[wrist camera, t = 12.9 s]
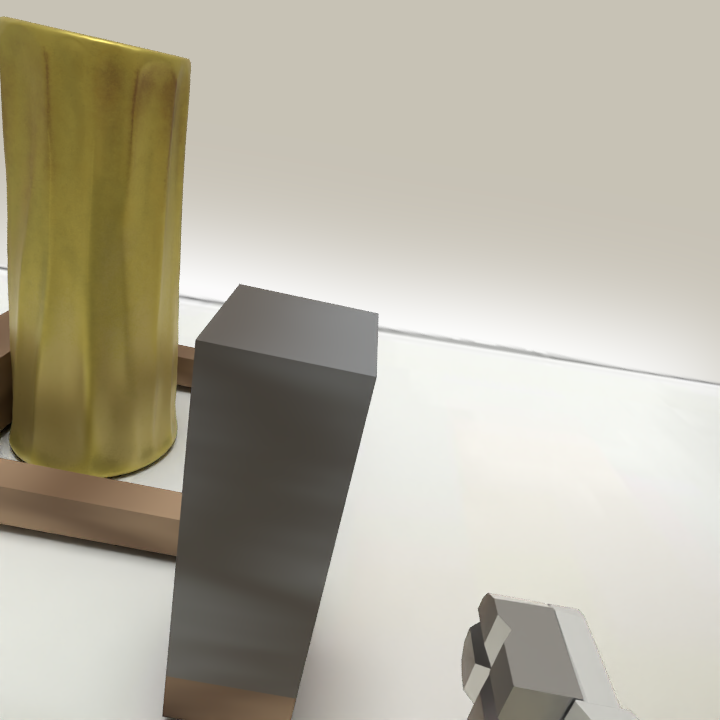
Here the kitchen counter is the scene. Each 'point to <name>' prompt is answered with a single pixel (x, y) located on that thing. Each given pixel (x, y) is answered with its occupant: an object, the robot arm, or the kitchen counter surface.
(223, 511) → the frame
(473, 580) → the kitchen counter surface
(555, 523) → the kitchen counter surface
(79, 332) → the vase
